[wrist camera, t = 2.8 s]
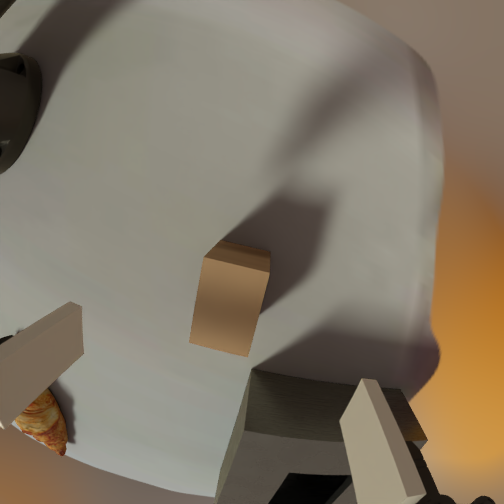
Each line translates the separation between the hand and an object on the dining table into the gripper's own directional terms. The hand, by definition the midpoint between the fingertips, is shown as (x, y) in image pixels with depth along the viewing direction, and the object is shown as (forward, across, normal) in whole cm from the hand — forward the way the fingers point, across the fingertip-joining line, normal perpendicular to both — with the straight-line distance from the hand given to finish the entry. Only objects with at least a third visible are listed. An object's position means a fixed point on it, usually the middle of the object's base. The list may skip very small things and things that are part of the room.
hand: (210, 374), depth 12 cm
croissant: (+13, -25, -26) cm, 38 cm away
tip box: (+12, +11, -17) cm, 23 cm away
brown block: (+12, 0, 0) cm, 12 cm away
